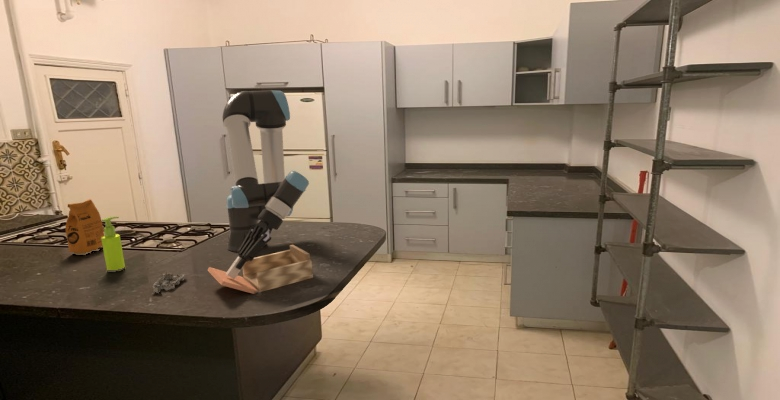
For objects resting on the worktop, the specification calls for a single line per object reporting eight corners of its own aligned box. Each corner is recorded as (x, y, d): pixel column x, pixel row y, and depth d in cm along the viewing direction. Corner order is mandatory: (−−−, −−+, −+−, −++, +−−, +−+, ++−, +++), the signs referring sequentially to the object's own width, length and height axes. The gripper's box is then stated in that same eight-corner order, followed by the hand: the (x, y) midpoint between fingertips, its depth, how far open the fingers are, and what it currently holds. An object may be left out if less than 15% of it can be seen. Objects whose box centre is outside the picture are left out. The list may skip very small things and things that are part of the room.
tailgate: (241, 276, 151) (209, 266, 144) (257, 290, 138) (222, 281, 132) (240, 279, 151) (207, 270, 144) (256, 294, 138) (221, 285, 132)
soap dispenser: (131, 267, 170) (122, 215, 166) (115, 273, 164) (105, 220, 160) (120, 265, 172) (111, 215, 168) (103, 272, 166) (93, 219, 162)
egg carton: (167, 282, 154) (165, 270, 153) (188, 281, 154) (187, 270, 153) (149, 294, 144) (147, 282, 143) (172, 294, 143) (170, 282, 142)
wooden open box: (293, 267, 162) (291, 243, 160) (313, 280, 149) (310, 254, 147) (243, 280, 152) (240, 254, 150) (260, 295, 139) (257, 267, 137)
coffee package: (65, 255, 188) (55, 204, 183) (92, 246, 200) (83, 198, 195) (83, 257, 185) (73, 205, 181) (110, 247, 197) (101, 198, 192)
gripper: (291, 223, 142) (246, 288, 136) (274, 216, 153) (232, 276, 147) (273, 210, 138) (226, 276, 132) (257, 204, 148) (213, 265, 143)
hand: (229, 276), depth 139 cm, fingers closed, pressing on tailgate
